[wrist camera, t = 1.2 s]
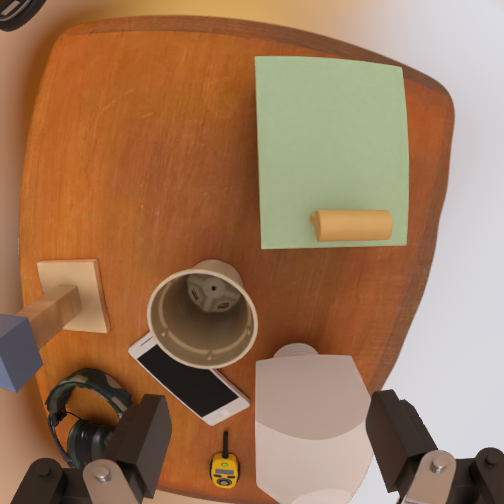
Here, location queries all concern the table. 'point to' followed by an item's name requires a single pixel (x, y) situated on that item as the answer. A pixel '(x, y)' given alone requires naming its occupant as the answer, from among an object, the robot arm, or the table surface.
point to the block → (17, 352)
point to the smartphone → (190, 383)
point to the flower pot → (203, 316)
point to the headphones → (84, 431)
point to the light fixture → (310, 427)
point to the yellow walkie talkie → (224, 468)
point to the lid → (331, 153)
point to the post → (67, 300)
